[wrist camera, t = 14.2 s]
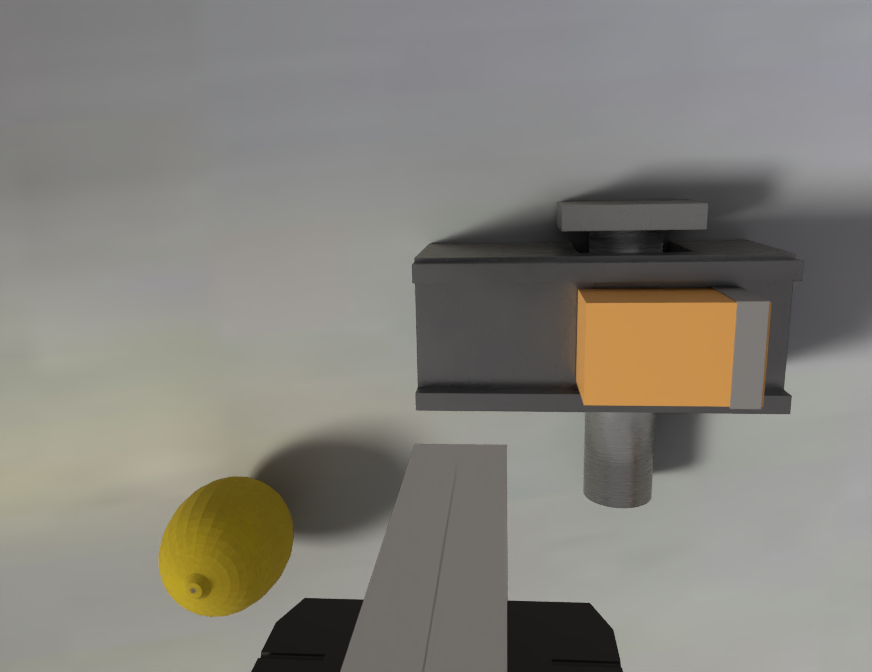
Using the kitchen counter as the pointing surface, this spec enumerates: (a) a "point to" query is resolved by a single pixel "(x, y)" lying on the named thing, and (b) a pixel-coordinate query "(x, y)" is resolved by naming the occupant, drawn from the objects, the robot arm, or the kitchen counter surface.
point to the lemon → (226, 546)
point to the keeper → (672, 347)
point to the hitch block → (565, 317)
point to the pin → (624, 431)
